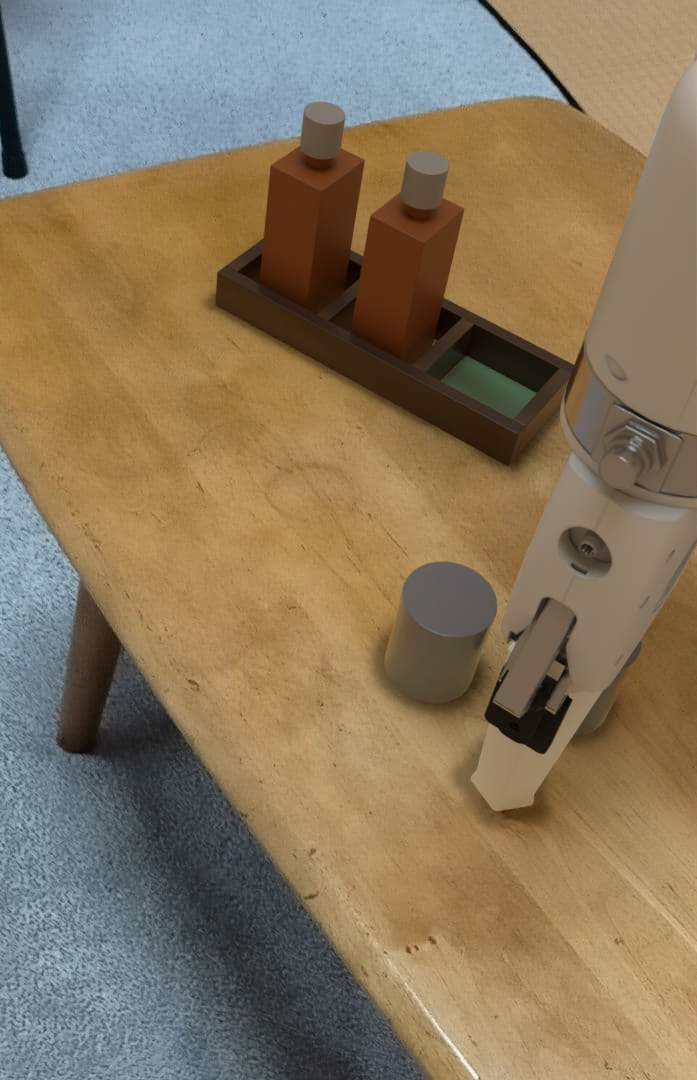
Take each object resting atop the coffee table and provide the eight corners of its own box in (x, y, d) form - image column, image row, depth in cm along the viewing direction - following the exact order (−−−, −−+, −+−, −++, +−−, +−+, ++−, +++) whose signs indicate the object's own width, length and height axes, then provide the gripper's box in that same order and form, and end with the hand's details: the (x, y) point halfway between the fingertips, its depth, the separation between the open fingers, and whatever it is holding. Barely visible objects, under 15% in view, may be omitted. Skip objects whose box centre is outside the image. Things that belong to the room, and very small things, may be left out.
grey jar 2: (618, 700, 70) (657, 626, 64) (579, 761, 67) (617, 688, 61) (541, 654, 71) (573, 578, 66) (499, 712, 68) (530, 636, 63)
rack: (285, 261, 92) (290, 218, 89) (564, 408, 85) (579, 367, 83) (214, 315, 87) (216, 271, 84) (505, 476, 80) (518, 434, 77)
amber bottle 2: (432, 348, 87) (476, 159, 75) (394, 384, 84) (435, 192, 72) (384, 323, 88) (421, 133, 77) (345, 357, 85) (378, 165, 74)
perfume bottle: (445, 811, 64) (512, 638, 52) (470, 745, 66) (539, 567, 55) (529, 846, 63) (615, 679, 52) (551, 778, 66) (638, 605, 55)
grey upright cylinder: (486, 670, 70) (514, 593, 65) (441, 729, 67) (467, 653, 62) (411, 624, 71) (433, 546, 66) (364, 681, 68) (383, 603, 63)
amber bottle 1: (342, 301, 89) (373, 110, 78) (302, 334, 86) (328, 140, 75) (297, 277, 90) (321, 85, 79) (256, 309, 87) (275, 114, 76)
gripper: (674, 603, 38) (530, 873, 51) (847, 335, 48) (689, 619, 62) (464, 485, 40) (379, 774, 53) (673, 253, 50) (557, 544, 64)
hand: (546, 688), depth 57 cm, fingers open, 5 cm apart
